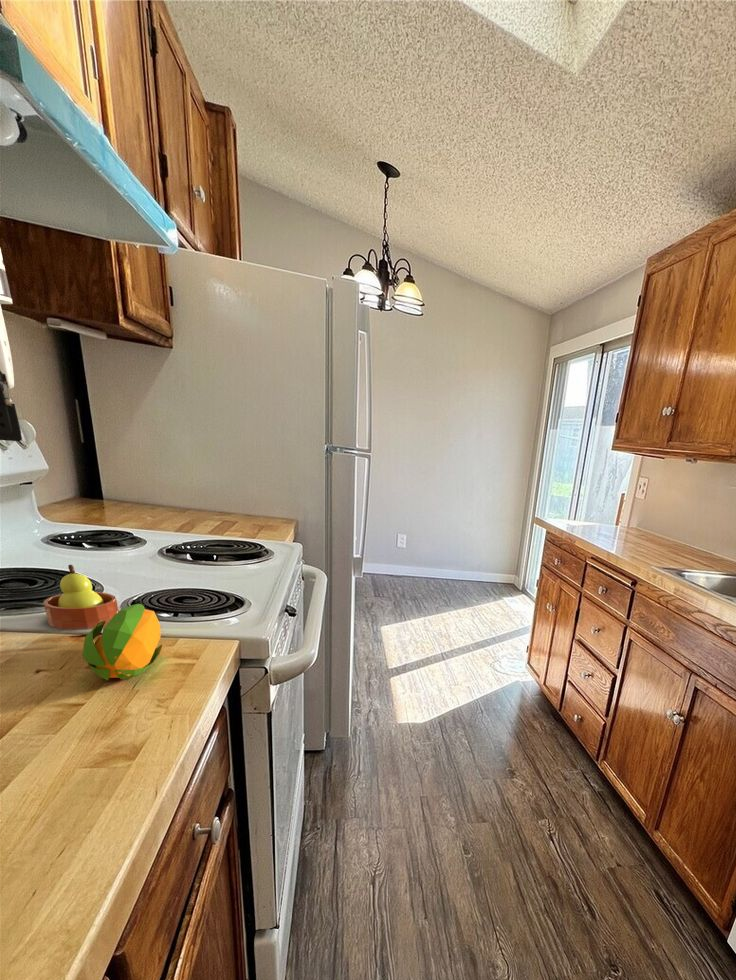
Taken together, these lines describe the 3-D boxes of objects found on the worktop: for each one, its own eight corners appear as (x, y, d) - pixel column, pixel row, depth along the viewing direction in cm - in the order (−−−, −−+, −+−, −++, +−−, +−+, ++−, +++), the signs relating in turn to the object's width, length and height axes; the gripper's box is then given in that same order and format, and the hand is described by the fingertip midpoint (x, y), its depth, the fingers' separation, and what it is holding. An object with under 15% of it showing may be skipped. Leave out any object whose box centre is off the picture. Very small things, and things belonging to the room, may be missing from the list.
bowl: (52, 641, 79) (44, 611, 77) (49, 622, 85) (42, 594, 83) (124, 633, 84) (119, 605, 82) (117, 616, 90) (112, 589, 88)
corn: (64, 634, 63) (113, 586, 80) (73, 694, 66) (119, 635, 83) (141, 637, 66) (172, 590, 83) (146, 695, 69) (176, 637, 86)
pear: (63, 629, 80) (45, 566, 78) (64, 625, 85) (46, 566, 82) (110, 623, 84) (94, 562, 81) (108, 620, 88) (92, 562, 86)
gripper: (-69, 282, 70) (-29, 429, 77) (-85, 264, 58) (-37, 440, 65) (10, 296, 75) (40, 434, 82) (9, 282, 63) (45, 445, 70)
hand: (6, 437), depth 74 cm, fingers open, 9 cm apart
